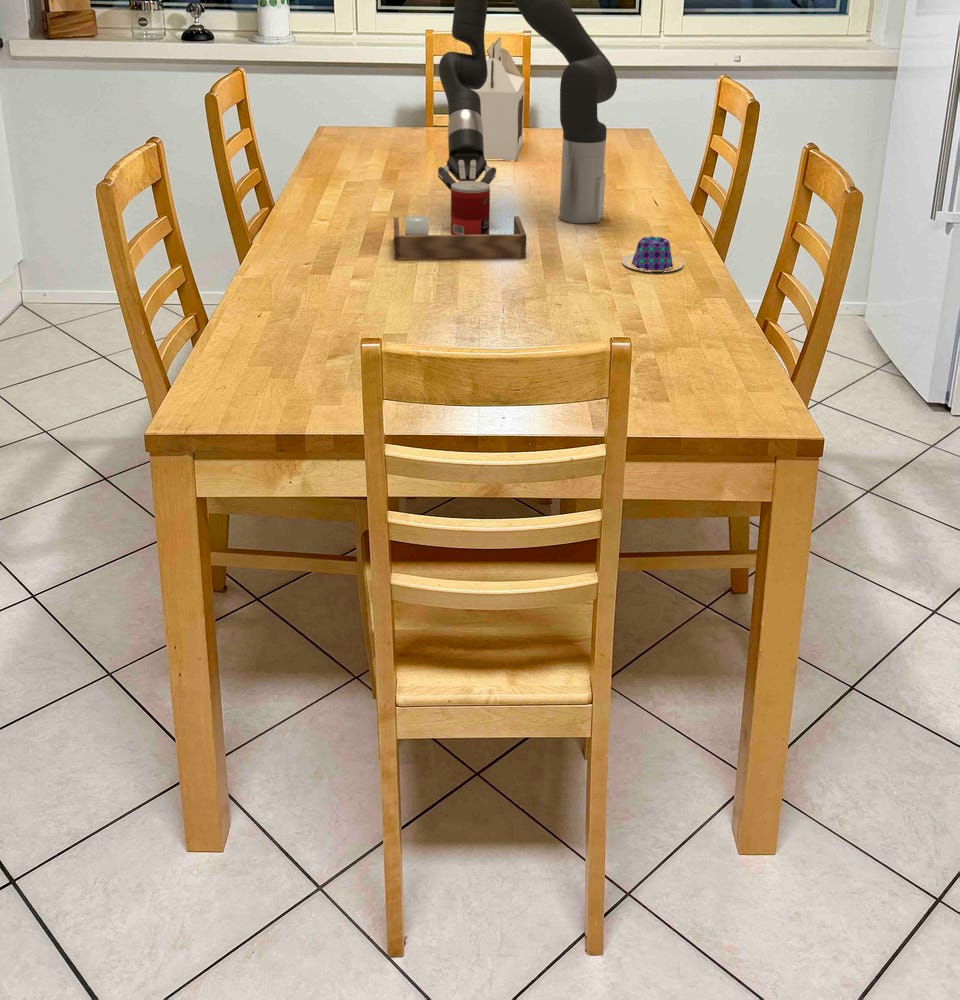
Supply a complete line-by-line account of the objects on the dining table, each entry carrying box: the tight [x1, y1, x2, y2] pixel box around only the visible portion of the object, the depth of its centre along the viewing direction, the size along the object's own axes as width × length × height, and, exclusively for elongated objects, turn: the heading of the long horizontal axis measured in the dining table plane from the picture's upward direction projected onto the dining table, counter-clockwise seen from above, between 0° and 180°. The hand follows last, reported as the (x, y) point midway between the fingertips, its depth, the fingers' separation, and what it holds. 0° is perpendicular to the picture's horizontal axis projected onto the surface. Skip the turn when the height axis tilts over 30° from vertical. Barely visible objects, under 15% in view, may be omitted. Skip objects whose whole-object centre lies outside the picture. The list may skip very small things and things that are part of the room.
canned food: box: [450, 180, 491, 235], centre depth 237 cm, size 8×8×11 cm
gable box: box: [471, 37, 526, 161], centre depth 304 cm, size 22×13×28 cm, turn 173°
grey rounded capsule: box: [404, 214, 429, 235], centre depth 229 cm, size 5×5×7 cm
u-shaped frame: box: [393, 215, 527, 259], centre depth 233 cm, size 26×14×4 cm, turn 94°
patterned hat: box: [621, 236, 684, 273], centre depth 225 cm, size 12×12×5 cm
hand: (468, 209), depth 241 cm, fingers closed
